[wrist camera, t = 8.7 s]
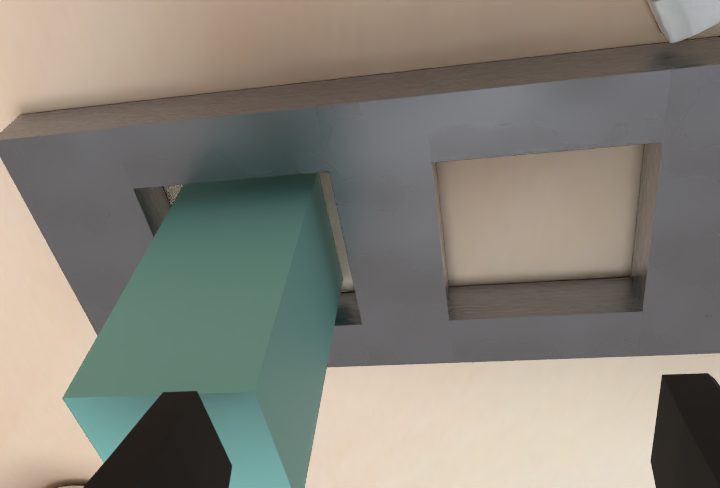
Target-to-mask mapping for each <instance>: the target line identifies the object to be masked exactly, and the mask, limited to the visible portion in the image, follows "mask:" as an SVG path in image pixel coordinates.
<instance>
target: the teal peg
mask: <svg viewBox="0 0 720 488" xmlns="http://www.w3.org/2000/svg"><path fill="white" fill-rule="evenodd" d="M342 282H343V277H342V272H341V268H340V264H339V259H338V255H337V251H336V247H335V242H334V238H333V234H332V230H331V225H330V221H329V217H328V212H327V208H326V204H325V200H324V195H323V191H322V187H321V183H320V178H319V174H318V172H317V173H306V174H294V175H283V176H271V177H260V178H249V179H237V180H226V181H214V182H203V183H191V184H184V185H183V187H182V189H181V190H180V192H179V194H178V196H177V197H176V199H175V201H174V203H173V204H172V206H171V208H170V210H169V212H168V213H167V215H166V217H165V219H164V220H163V222H162V224H161V226H160V227H159V229H158V231H157V233H156V234H155V236H154V238H153V240H152V241H151V243H150V245H149V247H148V248H147V250H146V252H145V254H144V256H143V257H142V259H141V261H140V263H139V264H138V266H137V268H136V270H135V271H134V273H133V275H132V277H131V278H130V280H129V282H128V284H127V285H126V287H125V289H124V291H123V292H122V294H121V296H120V298H119V300H118V301H117V303H116V305H115V307H114V308H113V310H112V312H111V314H110V315H109V317H108V319H107V321H106V322H105V324H104V326H103V328H102V329H101V331H100V333H99V335H98V336H97V338H96V340H95V342H94V344H93V345H92V347H91V349H90V351H89V352H88V354H87V356H86V358H85V359H84V361H83V363H82V365H81V366H80V368H79V370H78V372H77V373H76V375H75V377H74V379H73V380H72V382H71V384H70V386H69V388H68V389H67V391H66V393H65V395H64V396H63V400H64V402H65V403H66V405H67V406H68V408H69V409H70V411H71V412H72V414H73V416H74V417H75V419H76V420H77V422H78V423H79V425H80V426H81V428H82V430H83V431H84V433H85V434H86V436H87V437H88V439H89V440H90V442H91V444H92V445H93V447H94V448H95V450H96V451H97V453H98V454H99V456H100V458H101V459H102V461H103V462H105V461H106V460H107V459H108V458H109V456H110V455H111V454H112V453H113V451H114V450H115V449H116V448H117V447H118V445H119V444H120V443H121V442H122V441H123V439H124V438H125V437H126V436H127V435H128V433H129V432H130V431H131V430H132V428H133V427H134V426H135V425H136V424H137V422H138V421H139V420H140V419H141V418H142V416H143V415H144V414H145V413H146V412H147V410H148V409H149V408H150V407H151V406H152V405H153V403H154V402H155V401H156V400H157V399H158V397H159V396H160V395H161V394H162V393H163V392H179V391H197V392H198V394H199V396H200V398H201V400H202V402H203V405H204V407H205V409H206V411H207V413H208V415H209V417H210V419H211V422H212V424H213V426H214V428H215V430H216V432H217V434H218V436H219V439H220V441H221V443H222V445H223V447H224V449H225V451H226V454H227V456H228V458H229V460H230V462H231V464H232V471H231V477H230V484H229V488H305V483H306V477H307V472H308V466H309V461H310V455H311V450H312V445H313V439H314V434H315V428H316V423H317V417H318V412H319V407H320V401H321V396H322V390H323V385H324V379H325V374H326V369H327V363H328V358H329V352H330V347H331V341H332V336H333V331H334V325H335V320H336V314H337V309H338V303H339V298H340V292H341V287H342Z"/></svg>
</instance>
